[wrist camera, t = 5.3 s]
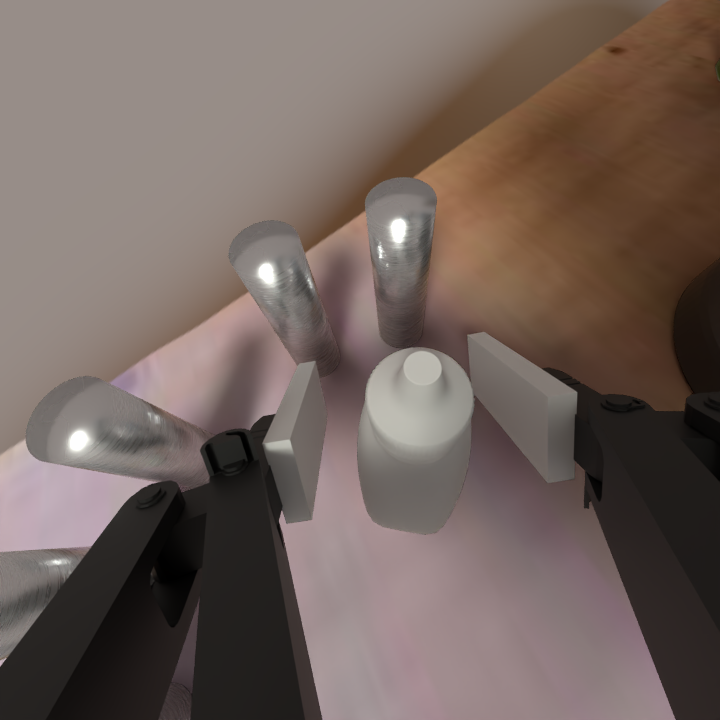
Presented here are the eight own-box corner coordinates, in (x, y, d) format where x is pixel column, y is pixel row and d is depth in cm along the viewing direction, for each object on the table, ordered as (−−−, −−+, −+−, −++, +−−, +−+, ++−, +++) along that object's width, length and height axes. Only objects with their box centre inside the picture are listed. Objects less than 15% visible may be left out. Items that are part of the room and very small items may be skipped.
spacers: (430, 320, 21) (450, 187, 12) (164, 790, 13) (-234, 1236, 5) (328, 279, 23) (288, 143, 15) (50, 657, 15) (-352, 806, 7)
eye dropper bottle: (477, 449, 17) (608, 318, 6) (412, 549, 15) (439, 602, 5) (405, 399, 19) (411, 226, 8) (339, 486, 17) (234, 417, 6)
